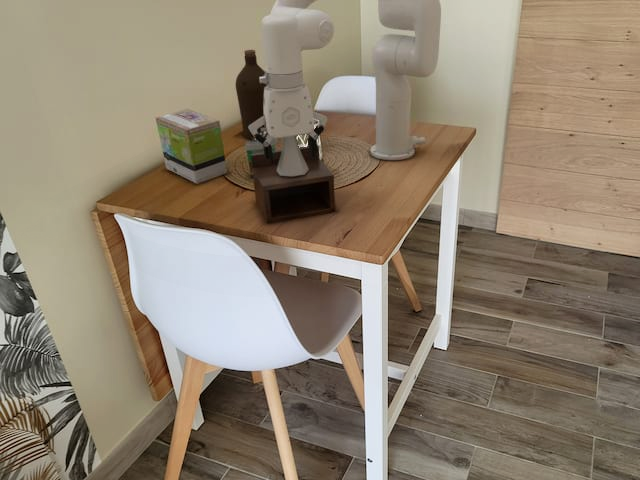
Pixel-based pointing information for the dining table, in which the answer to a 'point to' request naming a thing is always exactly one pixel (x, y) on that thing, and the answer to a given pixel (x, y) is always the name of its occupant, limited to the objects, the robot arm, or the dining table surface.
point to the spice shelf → (292, 188)
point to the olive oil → (250, 92)
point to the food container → (257, 147)
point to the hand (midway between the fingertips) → (291, 158)
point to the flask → (291, 159)
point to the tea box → (192, 145)
